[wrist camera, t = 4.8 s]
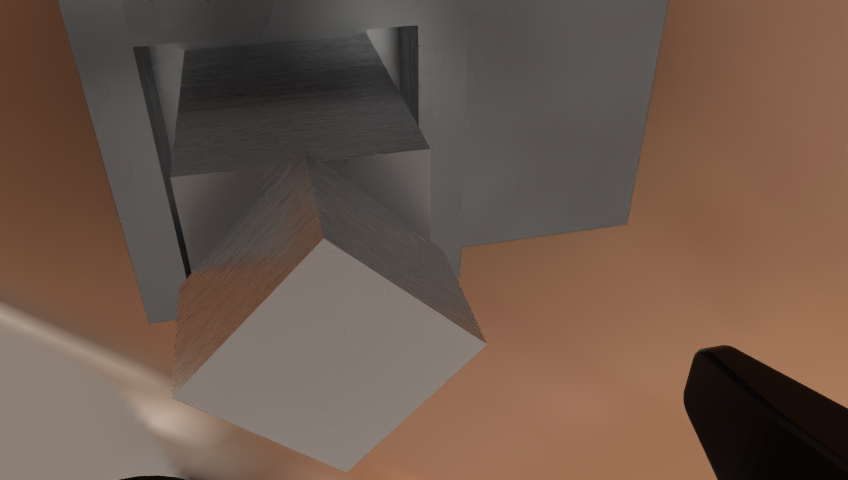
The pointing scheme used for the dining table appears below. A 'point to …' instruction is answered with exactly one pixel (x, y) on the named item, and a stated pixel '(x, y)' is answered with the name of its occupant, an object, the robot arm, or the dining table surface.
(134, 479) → the mug
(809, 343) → the dining table surface
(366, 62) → the grey block
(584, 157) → the socket block
